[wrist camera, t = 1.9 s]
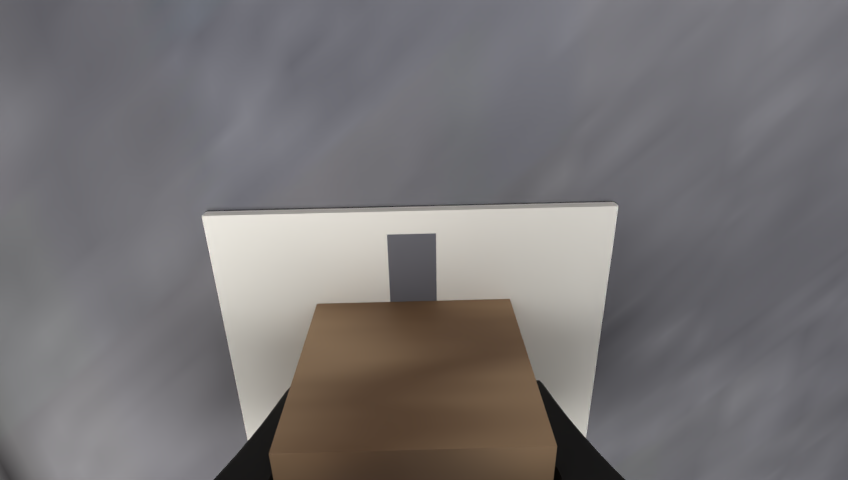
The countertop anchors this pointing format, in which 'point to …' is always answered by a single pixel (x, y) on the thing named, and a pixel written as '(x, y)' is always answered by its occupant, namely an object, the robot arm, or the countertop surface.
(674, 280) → the countertop surface
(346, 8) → the countertop surface
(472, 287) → the letter card
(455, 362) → the walnut block
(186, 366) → the countertop surface
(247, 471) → the robot arm
